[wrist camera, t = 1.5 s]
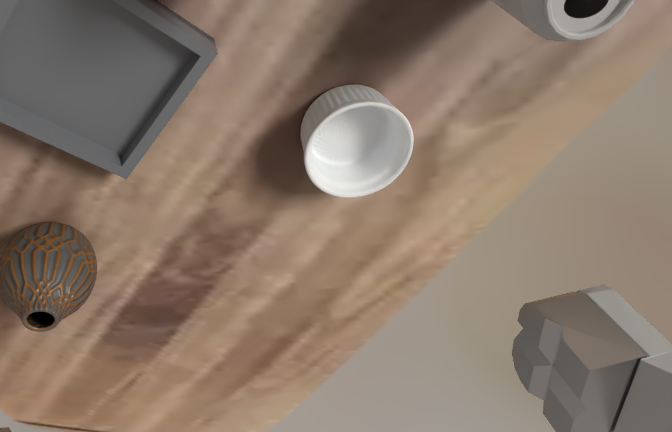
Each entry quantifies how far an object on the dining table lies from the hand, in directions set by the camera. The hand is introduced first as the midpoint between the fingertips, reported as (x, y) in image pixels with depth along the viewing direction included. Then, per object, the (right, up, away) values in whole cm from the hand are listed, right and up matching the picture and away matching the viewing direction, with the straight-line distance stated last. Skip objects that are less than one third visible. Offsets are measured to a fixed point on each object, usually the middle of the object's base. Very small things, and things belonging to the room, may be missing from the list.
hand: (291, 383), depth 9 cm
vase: (-23, +1, +39) cm, 45 cm away
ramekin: (+1, +10, +39) cm, 40 cm away
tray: (-16, +13, +30) cm, 36 cm away
